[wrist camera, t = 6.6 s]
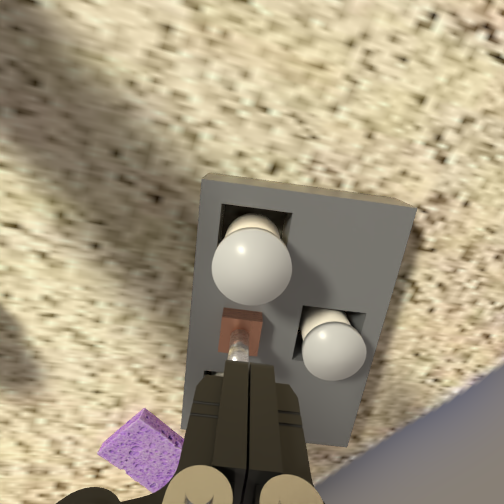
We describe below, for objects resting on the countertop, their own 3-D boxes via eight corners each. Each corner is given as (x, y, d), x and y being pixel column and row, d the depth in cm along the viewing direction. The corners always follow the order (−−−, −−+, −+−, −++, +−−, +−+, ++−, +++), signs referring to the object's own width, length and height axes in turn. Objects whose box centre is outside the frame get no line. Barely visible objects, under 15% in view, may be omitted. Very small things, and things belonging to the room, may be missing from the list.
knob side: (299, 288, 30) (309, 323, 24) (351, 295, 30) (373, 331, 24) (290, 334, 31) (298, 377, 26) (340, 340, 31) (358, 384, 26)
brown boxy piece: (223, 307, 26) (216, 345, 22) (262, 312, 26) (263, 350, 22) (219, 340, 27) (212, 383, 22) (256, 345, 27) (257, 388, 23)
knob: (224, 205, 24) (215, 225, 19) (288, 213, 24) (298, 236, 19) (218, 265, 26) (208, 300, 20) (278, 272, 26) (285, 309, 20)
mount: (209, 172, 27) (201, 178, 23) (394, 198, 27) (417, 208, 24) (189, 396, 34) (180, 429, 30) (336, 413, 34) (347, 447, 31)
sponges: (145, 403, 35) (139, 418, 33) (231, 470, 38) (229, 487, 36) (102, 439, 37) (94, 454, 35) (187, 500, 39) (184, 517, 38)
